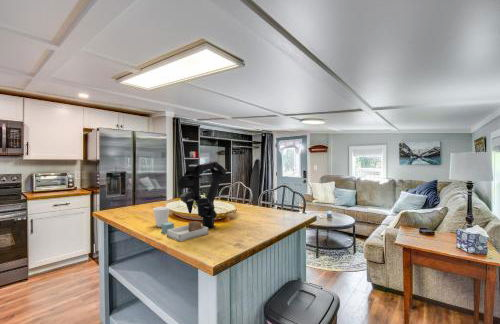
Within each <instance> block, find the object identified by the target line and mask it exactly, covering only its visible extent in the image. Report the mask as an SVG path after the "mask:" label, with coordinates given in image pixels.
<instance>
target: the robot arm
mask: <svg viewBox="0 0 500 324" xmlns="http://www.w3.org/2000/svg"><path fill="white" fill-rule="evenodd" d="M208 170H209V171H210V173H211V177H212V181H211V183H210V186H209V190H208V192H207V195H206V197H202V195H201V192H200V191H202V188H201V179H203V177H202V176H201V175H202V174H203V173H204V172H205V171H208ZM226 173H227V172H226V169H225V168H224V167H223V166H222V165H221V164H219V163H218V161H209V162H206V163H201V164H189V165H188V167H187V169H186V170H185V173H184V175H181V177H180V178H179V180H178V182H177V184H178V185H177V186H178V187H179V188H180V189H182V190H185V189H186V190H187V191H185V192H184V193H182V194H180V195H179V199H180V201H181V202H183V203H184V204H185V205H186V208H187V211H188V214H192V211H193V207H194V202H195V206H196V207H197V215H198V217H200V218H202V220H201V221H202V222H201V225H202V226H205V227H208V230H209V229H213V228H216V227H217V226H216V225H215V218H217V212H216V211H215V204H214V203H215V200H216V199H215V198H216V196H217V193H218V190H219V187H220V184H221V182H222V181H223V179H224V178H225V176H226Z"/></svg>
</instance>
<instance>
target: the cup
mask: <svg viewBox="0 0 500 324" xmlns="http://www.w3.org/2000/svg"><path fill="white" fill-rule="evenodd" d="M170 209H171V208H170V207H169V206H157V207H153V209H152V210H153V214H154V220H155V225H156V227H157V228H162V223H167V222H169V221H168V220H169V214H170Z"/></svg>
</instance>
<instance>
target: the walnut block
mask: <svg viewBox="0 0 500 324" xmlns="http://www.w3.org/2000/svg"><path fill="white" fill-rule="evenodd" d="M187 225H188V231H189V232H191V231H195V230H199V229H201V225H202V222H201V221H197V220H195V221H189V222H188V224H187Z"/></svg>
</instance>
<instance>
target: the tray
mask: <svg viewBox="0 0 500 324" xmlns="http://www.w3.org/2000/svg"><path fill="white" fill-rule="evenodd" d="M205 235H209V229H208V227H205V226H202V224H201V229H199V230H195V231H191V232H189V231H188V224H187V225H182V226H177V227H174V228H172V229H168V230H167V234H166V237H167V238H171V239H173V240H175V241H177V242H183V241H186V240H187V241H188V240H190V239H194V238H198V237H201V236H202V237H203V236H205Z"/></svg>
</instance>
